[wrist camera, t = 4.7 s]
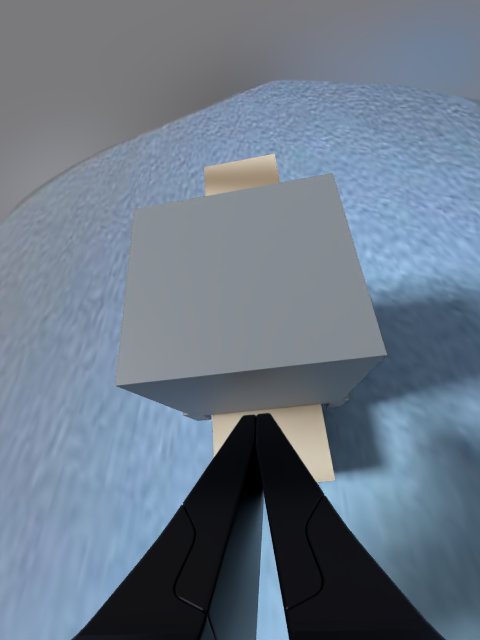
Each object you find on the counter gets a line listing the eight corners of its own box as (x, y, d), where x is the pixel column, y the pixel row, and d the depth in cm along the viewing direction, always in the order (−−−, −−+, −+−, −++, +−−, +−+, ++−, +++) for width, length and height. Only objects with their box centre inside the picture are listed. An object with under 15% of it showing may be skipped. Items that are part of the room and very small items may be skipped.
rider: (341, 406, 14) (400, 353, 7) (198, 420, 15) (104, 386, 7) (318, 299, 17) (342, 171, 9) (196, 316, 18) (125, 210, 10)
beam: (326, 475, 15) (335, 480, 12) (228, 482, 15) (214, 489, 12) (276, 189, 23) (274, 153, 20) (214, 200, 24) (204, 166, 21)
